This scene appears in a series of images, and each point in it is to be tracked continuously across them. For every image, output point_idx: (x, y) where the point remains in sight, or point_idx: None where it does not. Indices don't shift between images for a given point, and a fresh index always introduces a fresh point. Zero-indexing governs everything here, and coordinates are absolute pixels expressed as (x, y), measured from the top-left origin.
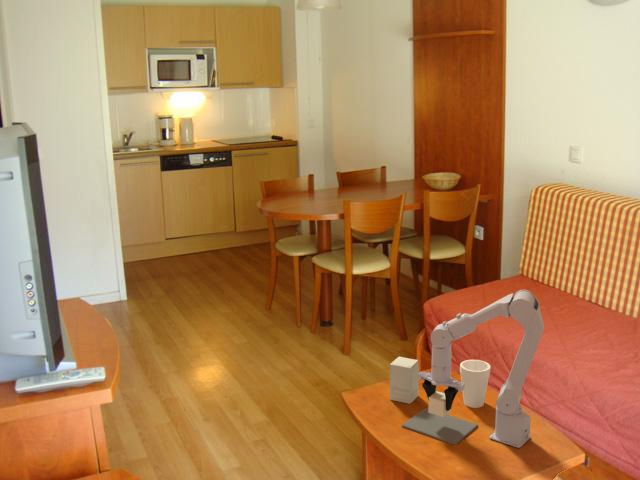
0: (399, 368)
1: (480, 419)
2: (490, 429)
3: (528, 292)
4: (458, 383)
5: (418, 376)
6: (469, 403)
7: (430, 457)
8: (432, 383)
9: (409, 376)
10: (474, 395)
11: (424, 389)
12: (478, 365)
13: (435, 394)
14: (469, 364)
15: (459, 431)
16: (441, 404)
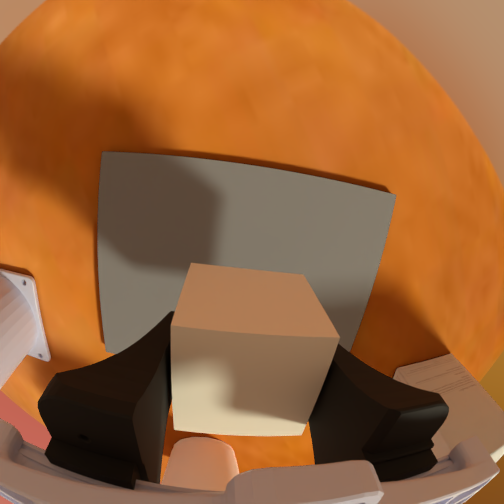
0: (493, 443)
1: None
2: (67, 341)
3: None
4: (17, 501)
5: (487, 453)
6: (203, 446)
7: (171, 5)
8: (358, 478)
9: (450, 442)
10: (182, 471)
11: (404, 384)
12: None
13: (296, 400)
14: None
15: (130, 265)
16: (197, 308)
